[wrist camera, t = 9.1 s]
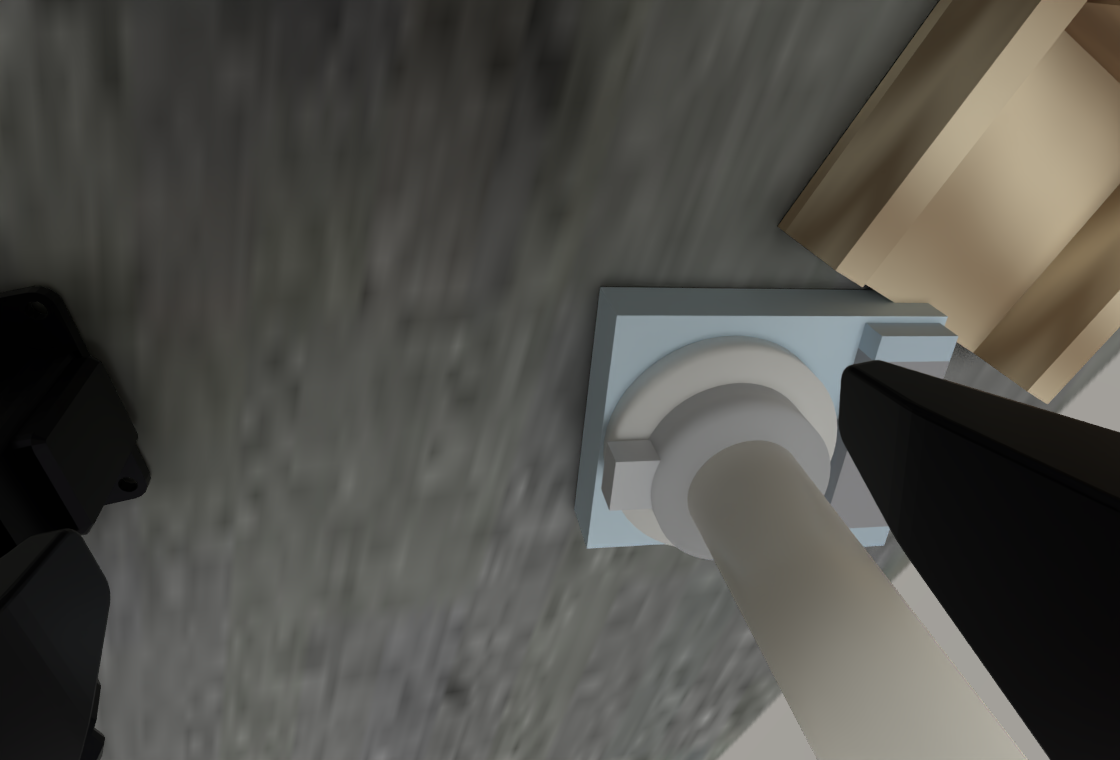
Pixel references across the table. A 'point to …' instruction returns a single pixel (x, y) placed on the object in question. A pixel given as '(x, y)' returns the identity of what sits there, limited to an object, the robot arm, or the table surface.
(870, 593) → the crank handle
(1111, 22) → the box
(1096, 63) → the bay
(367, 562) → the table surface
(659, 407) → the grey socket base
